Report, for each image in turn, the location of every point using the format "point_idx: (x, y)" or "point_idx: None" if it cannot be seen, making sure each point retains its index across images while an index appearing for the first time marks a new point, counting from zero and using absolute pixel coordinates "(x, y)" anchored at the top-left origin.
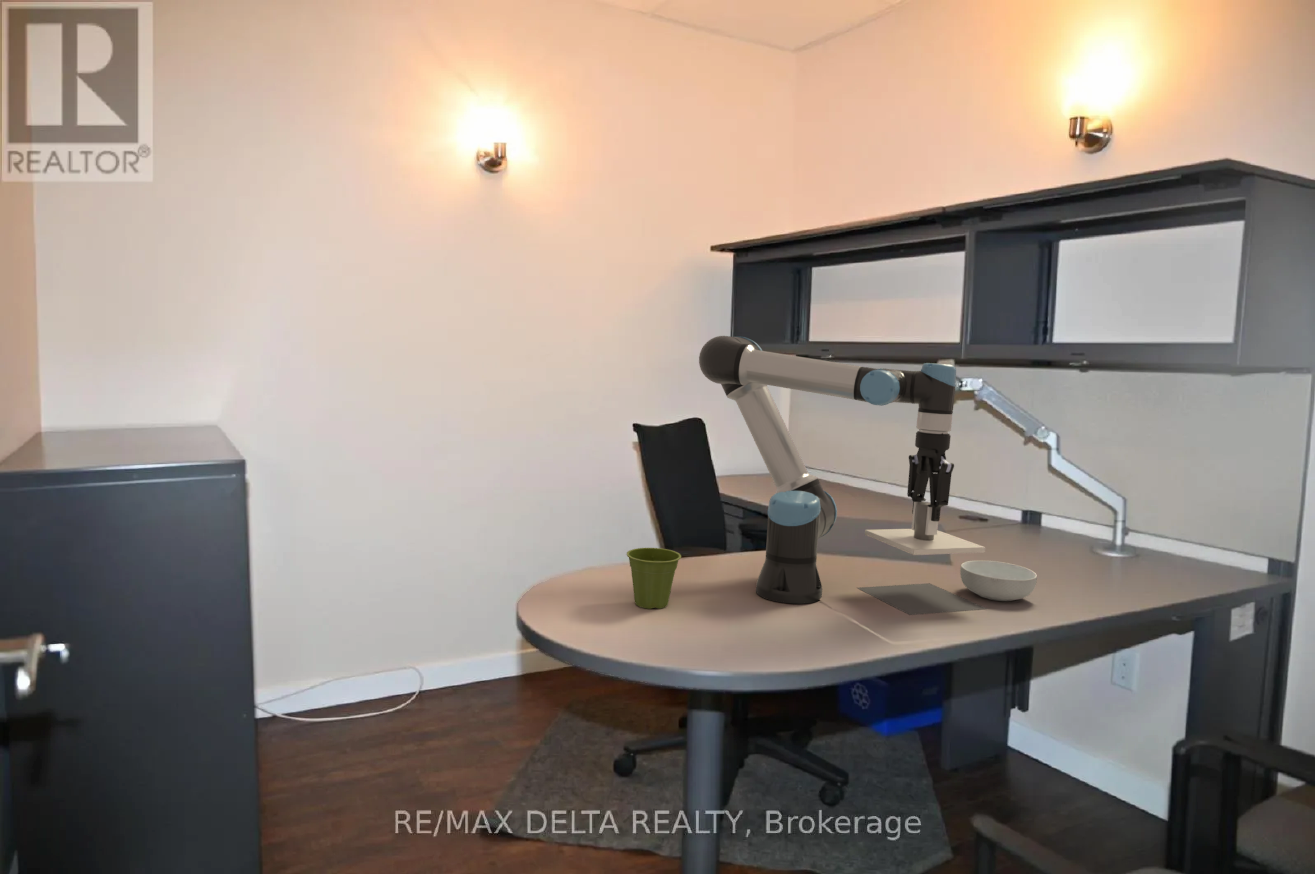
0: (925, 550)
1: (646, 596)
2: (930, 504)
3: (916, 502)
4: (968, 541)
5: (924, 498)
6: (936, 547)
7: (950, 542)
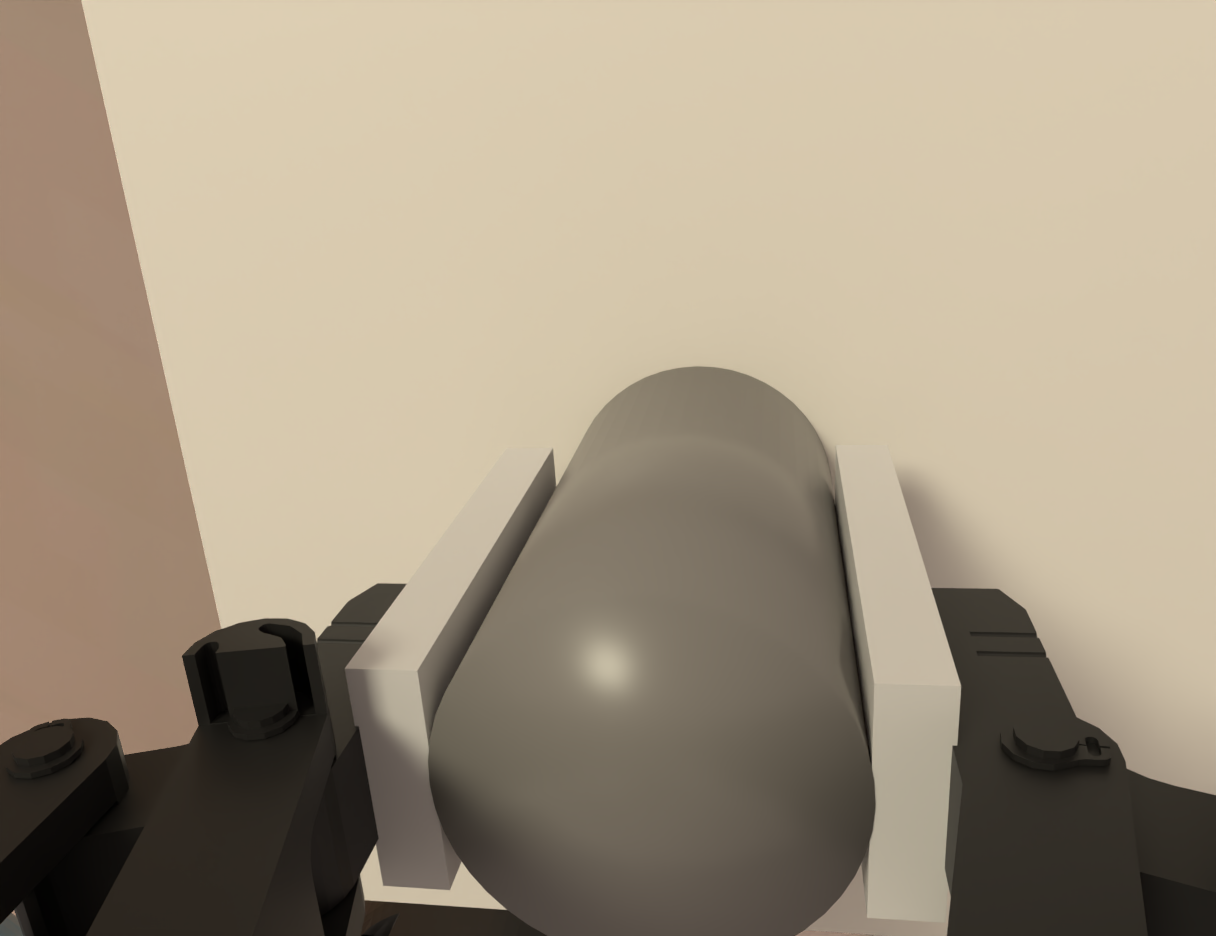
0: None
1: None
2: (680, 733)
3: (441, 874)
4: None
5: (251, 654)
6: (1204, 644)
7: (988, 243)
